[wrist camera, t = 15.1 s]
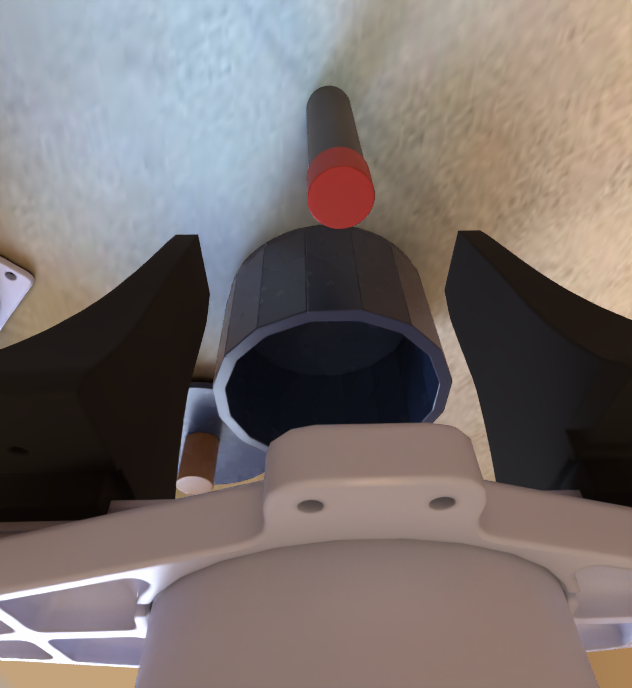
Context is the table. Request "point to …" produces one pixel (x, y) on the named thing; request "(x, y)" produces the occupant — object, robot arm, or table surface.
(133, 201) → the table surface
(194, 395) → the lid
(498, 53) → the table surface
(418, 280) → the tin
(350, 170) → the marker
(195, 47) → the table surface
